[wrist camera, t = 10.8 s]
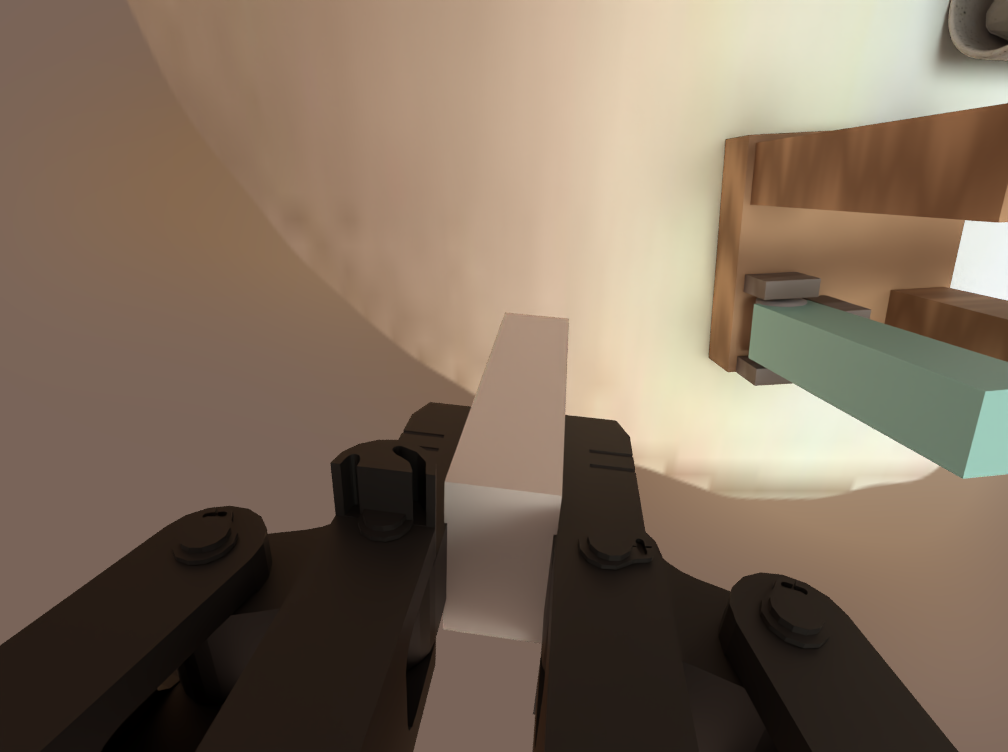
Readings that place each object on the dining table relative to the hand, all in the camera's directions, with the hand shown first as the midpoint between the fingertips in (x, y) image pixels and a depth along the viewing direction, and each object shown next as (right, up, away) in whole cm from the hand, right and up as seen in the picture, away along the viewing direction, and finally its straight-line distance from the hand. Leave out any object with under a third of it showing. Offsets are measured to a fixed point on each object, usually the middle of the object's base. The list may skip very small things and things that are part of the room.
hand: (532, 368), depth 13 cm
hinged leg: (+15, +3, +19) cm, 25 cm away
